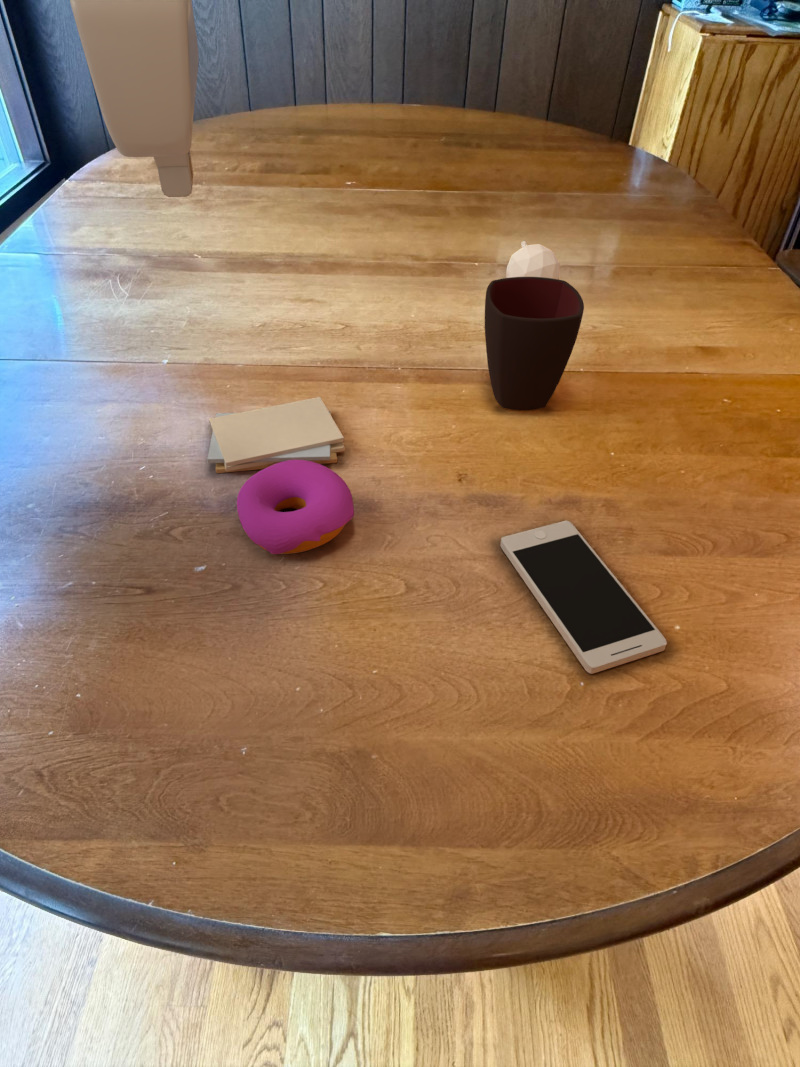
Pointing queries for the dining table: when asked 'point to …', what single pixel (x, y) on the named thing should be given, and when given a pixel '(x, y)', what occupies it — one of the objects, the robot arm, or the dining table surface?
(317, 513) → the donut
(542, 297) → the cup
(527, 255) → the ornament
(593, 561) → the smartphone
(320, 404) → the letter pile
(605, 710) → the dining table surface
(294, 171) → the dining table surface
